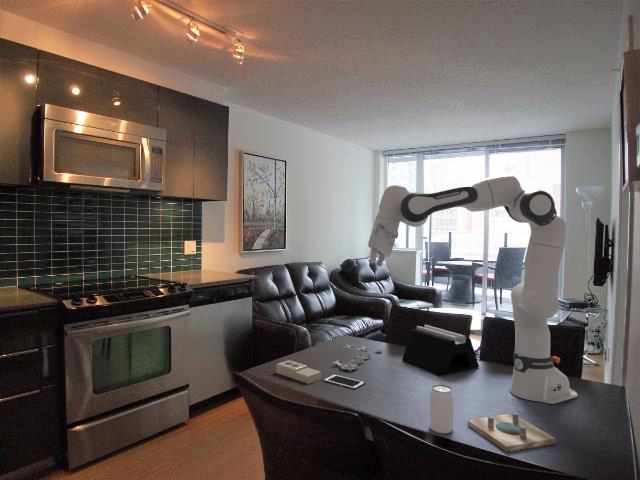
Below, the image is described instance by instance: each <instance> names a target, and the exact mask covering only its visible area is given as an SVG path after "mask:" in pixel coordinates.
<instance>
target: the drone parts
mask: <svg viewBox="0 0 640 480" xmlns="http://www.w3.org/2000/svg"><path fill="white" fill-rule="evenodd" d="M344 345H345V346H344V348H345V349H352V350H354V347H355V346H356V343H355V344H351V345H350V344H347V343H346V342H345V344H344ZM368 348H369V345H367V346H364V344H362V345H361V347H360V348H359V347H358V348H356V349H357V350H358V351H359V352H357V353H356V354H355V355H354V356H355V357H349V358H348V361H343V362H341V363H340V359H339V360H336V361H334V362H332V365H335V364H336V365H337V366H339V367H340V368H341V370H343V371H344V370H348V371H349V372H352V370H353V371H354V370H357V369H358V368H359V364H363V363H364V362H365V360H369V359H371V354H370V353H367V354H366V353H363V352H367V351H368ZM383 350H384V348H381V349H380V348H378V347H376V348H375V349H373V351H374V352H376V353H382V352H383ZM353 363H354V364H353Z"/></svg>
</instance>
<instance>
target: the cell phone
mask: <svg viewBox="0 0 640 480" xmlns="http://www.w3.org/2000/svg"><path fill="white" fill-rule="evenodd" d="M322 380H323V382H325V383H328V384H332V385H336V386H339V387H343V388H346V389H351V390H354V391H355V390H358V389H360V388H361V387H363V386H364V385H366V383H365V381H363V380H358V379H355V378H351V377H346V376H344V375H338V374H336V373H335V374H331V375H329V376H327V377H325V378H323V379H322Z"/></svg>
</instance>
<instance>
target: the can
mask: <svg viewBox="0 0 640 480" xmlns="http://www.w3.org/2000/svg"><path fill="white" fill-rule="evenodd" d="M429 396H430V397H429V428H430V430H432V431H433V432H435V433H437V434H441V435H447V434H448V435H449V434H450V433H452V432H453V430H454V428H453V427H454V392H453V388H452V387H450V386H449V385H446V384H434V385H431V390H430V392H429Z"/></svg>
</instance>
